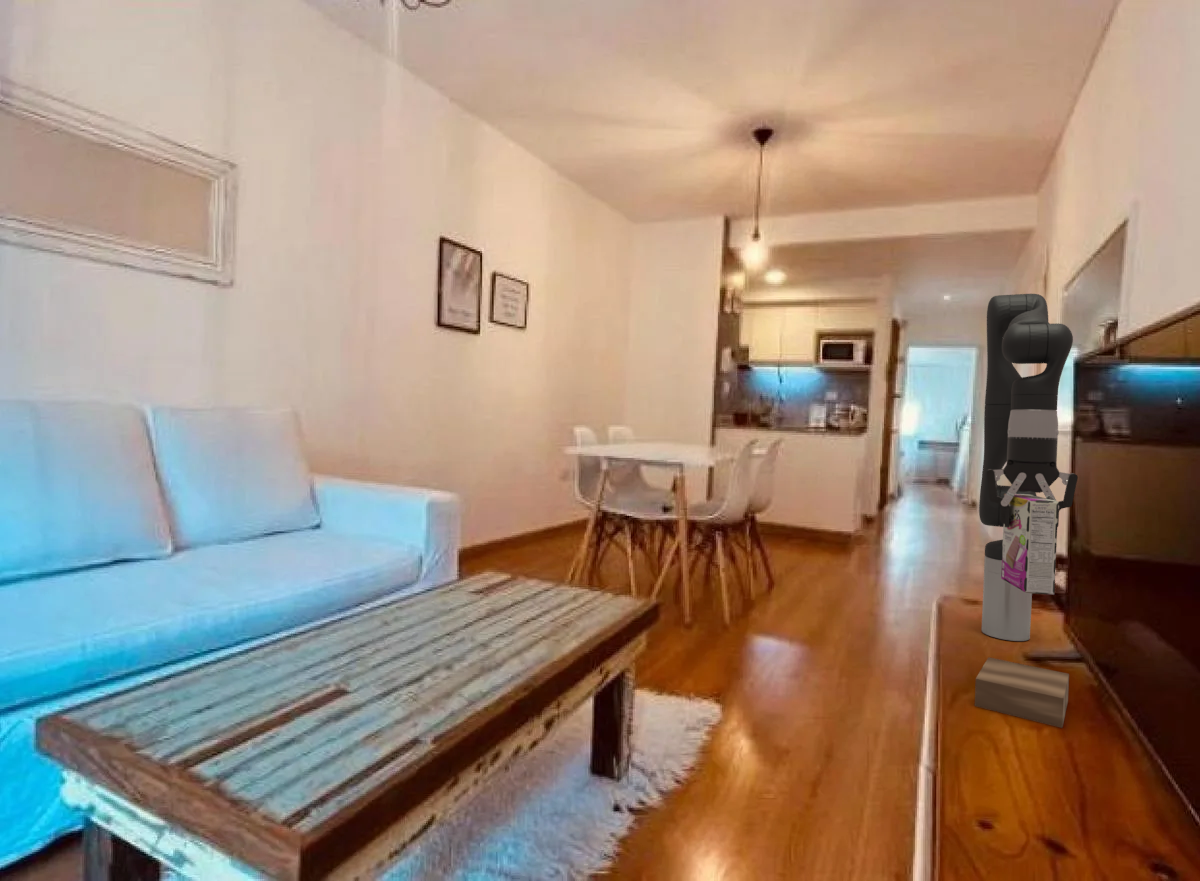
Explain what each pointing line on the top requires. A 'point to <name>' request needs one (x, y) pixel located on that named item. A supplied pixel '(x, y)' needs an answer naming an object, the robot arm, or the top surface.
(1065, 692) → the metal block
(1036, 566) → the candy bar box
